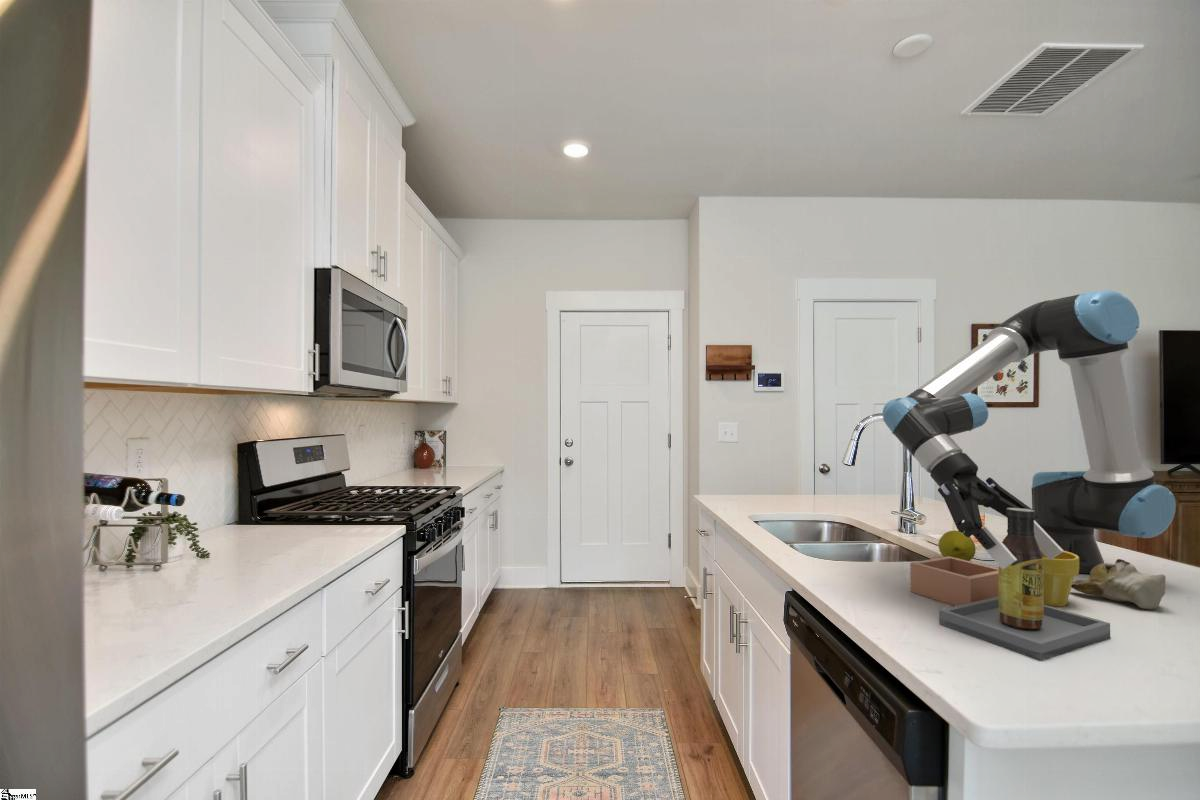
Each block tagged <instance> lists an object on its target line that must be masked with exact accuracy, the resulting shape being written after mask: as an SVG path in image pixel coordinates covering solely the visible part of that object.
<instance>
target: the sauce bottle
mask: <svg viewBox="0 0 1200 800" xmlns="http://www.w3.org/2000/svg"><path fill="white" fill-rule="evenodd" d="M1006 515H1007V517H1006V518H1007V529H1006V532H1007V534H1006V536H1005V537H1004V538H1003V540H1001V542H1002V543H1003V544H1004V545H1005V546H1006V547H1007V549H1008V550H1009V551H1010V552H1011V553H1012V554H1013V555H1014V556H1015V558H1016V559H1017V561H1015V562H1014V563H1012V564H1011V565H1009V566H1008V567H1006V568H1005V569H1002V568H1001V567H1000V566H999V565H998V568H999V598H998V603H999V611H1000V620H1001V621H1002V622H1003V623H1004V624H1007V625H1010V626H1013V627H1016V628H1022V629H1031V630H1035V629H1040V628H1041V626H1042V620H1043V619H1044V602H1043V592H1044V590H1043V556H1042V554H1041V551H1040V549H1039V546H1038V544H1037V541H1036V539H1035V536H1034V535H1035V533H1034V520H1035V511H1034V510H1030V509H1022V508H1007V509H1006Z"/></svg>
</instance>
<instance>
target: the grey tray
mask: <svg viewBox="0 0 1200 800" xmlns="http://www.w3.org/2000/svg"><path fill="white" fill-rule="evenodd" d="M998 598H999V596H998V597H993V598H989V599H985V600H980V601H976V602H971V603H967V604H963V605H958V606H955V605H953V606H951V607H947V608H943V609H942V608H941V609H938V610H939V611H938V613H939V614H938V620H939V623H938V624H939V625H940V626H944V627H947V628H950V629H952V630H955V631H958V632H960V633H963V634H966V635H969V636H972V637H974V638H978V639H979V640H980V639H981V640H983V641H985V642H988V643H992V644H994V645H996V646H999V647H1001V648H1005V649H1008V650H1010V651H1013V652H1016V653H1018V654H1022V655H1024V656H1027V657H1030V658H1033V659H1036V660H1039V661H1045V660H1047V659H1050V658H1053V657H1056V656H1060V655H1063V654H1066V653H1069V652H1072V651H1076V650H1078V649H1081V648H1084V647H1088V646H1091V645H1093V644H1097V643H1100V642H1103V641H1106V640H1109V639H1111V622H1108V621H1104V620H1099V619H1096V618H1093V617H1090V616H1086V615H1083V614H1078V613H1075V612H1072V611H1068V610H1064V609H1062V608H1057V607H1055V606H1048V605H1044V619H1043V620H1042V626H1041V628H1040V629H1035V630H1031V629H1022V628H1016V627H1013V626H1010V625H1007V624H1004V623H1003V622H1002V621H1001V620H1000V611H999V603H998Z"/></svg>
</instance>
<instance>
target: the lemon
mask: <svg viewBox="0 0 1200 800" xmlns="http://www.w3.org/2000/svg"><path fill="white" fill-rule="evenodd" d="M963 533H964V532H963ZM963 533H961V532H960V531H959V530H949V531H946V532H945V533H944V534H942V535H941V537H940V538H939V539H938V543H937V544H938V545H937V546H938V550H939V552H940V555H941V557H947V556H950V557H954V558H958V559H962V560H966V561H970V562H971V561H972V559H974V557H975V555H976V545H975V544H976V543H975V541H974V540H973V539H972V536H970V537H966V536H965V535H964V534H963Z"/></svg>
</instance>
